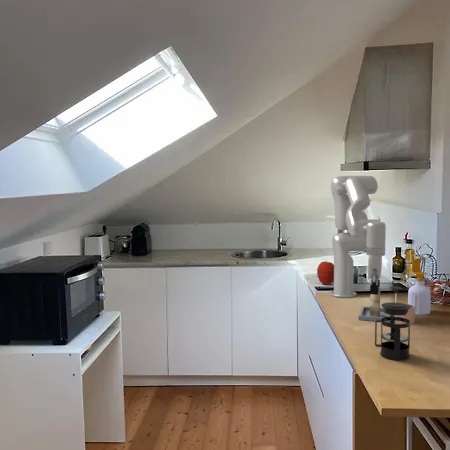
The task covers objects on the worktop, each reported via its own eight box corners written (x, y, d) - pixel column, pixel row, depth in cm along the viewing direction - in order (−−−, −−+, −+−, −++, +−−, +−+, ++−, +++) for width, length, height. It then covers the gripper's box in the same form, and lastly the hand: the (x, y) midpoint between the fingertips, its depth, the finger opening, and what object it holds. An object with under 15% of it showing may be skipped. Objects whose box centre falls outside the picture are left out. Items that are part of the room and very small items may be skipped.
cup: (396, 320, 201) (396, 303, 200) (414, 321, 199) (414, 304, 198) (396, 324, 195) (396, 307, 194) (414, 326, 192) (414, 309, 191)
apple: (316, 285, 267) (316, 260, 266) (318, 282, 277) (318, 257, 276) (335, 286, 264) (335, 261, 263) (336, 282, 274) (336, 258, 273)
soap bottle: (416, 317, 205) (418, 259, 203) (403, 311, 214) (404, 256, 211) (435, 315, 207) (436, 258, 205) (421, 309, 216) (422, 255, 214)
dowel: (370, 313, 207) (370, 286, 206) (380, 314, 206) (380, 286, 204) (369, 316, 203) (370, 288, 202) (379, 317, 202) (380, 289, 201)
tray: (361, 311, 214) (361, 306, 214) (390, 314, 210) (390, 308, 210) (358, 322, 199) (358, 316, 199) (389, 324, 195) (389, 318, 195)
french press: (409, 351, 165) (410, 284, 163) (414, 361, 156) (416, 291, 154) (373, 349, 167) (374, 283, 165) (376, 359, 158) (377, 290, 156)
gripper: (367, 247, 211) (367, 286, 213) (364, 254, 195) (363, 295, 197) (386, 248, 209) (385, 287, 211) (384, 255, 193) (383, 297, 194)
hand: (374, 291), depth 204 cm, fingers open, 9 cm apart
